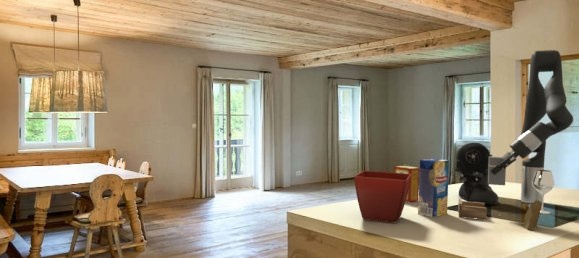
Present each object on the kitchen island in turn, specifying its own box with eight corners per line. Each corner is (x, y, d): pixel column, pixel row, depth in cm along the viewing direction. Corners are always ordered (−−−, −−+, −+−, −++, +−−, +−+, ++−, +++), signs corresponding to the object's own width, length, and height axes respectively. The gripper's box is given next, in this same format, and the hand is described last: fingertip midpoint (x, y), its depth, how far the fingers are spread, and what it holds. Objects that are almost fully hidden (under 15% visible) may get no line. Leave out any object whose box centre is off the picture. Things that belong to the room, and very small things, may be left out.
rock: (541, 226, 154) (555, 219, 160) (525, 204, 158) (539, 198, 164) (517, 238, 162) (531, 231, 168) (503, 217, 166) (516, 211, 171)
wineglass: (556, 215, 186) (558, 172, 185) (534, 213, 187) (536, 171, 187) (548, 211, 194) (550, 169, 193) (528, 209, 195) (530, 169, 195)
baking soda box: (393, 198, 213) (394, 165, 213) (402, 197, 217) (403, 165, 217) (409, 202, 206) (410, 167, 205) (418, 201, 210) (419, 167, 209)
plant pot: (405, 226, 158) (406, 179, 158) (352, 221, 165) (353, 175, 165) (410, 216, 176) (411, 173, 176) (362, 211, 183) (363, 170, 183)
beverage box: (447, 213, 183) (449, 160, 182) (433, 217, 175) (435, 161, 175) (432, 210, 188) (433, 158, 187) (417, 213, 181) (419, 159, 180)
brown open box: (458, 211, 188) (458, 198, 188) (483, 213, 184) (484, 200, 184) (458, 217, 177) (459, 203, 176) (486, 219, 173) (486, 205, 173)
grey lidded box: (487, 182, 185) (488, 156, 185) (503, 183, 183) (504, 157, 183) (488, 184, 181) (489, 157, 180) (505, 185, 179) (506, 158, 178)
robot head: (512, 205, 202) (502, 141, 201) (474, 211, 202) (464, 147, 202) (484, 193, 232) (475, 138, 231) (451, 199, 232) (442, 143, 232)
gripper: (515, 136, 186) (483, 163, 190) (521, 138, 172) (486, 167, 176) (529, 150, 184) (496, 177, 188) (536, 152, 170) (500, 181, 175)
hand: (491, 172), depth 182 cm, fingers closed on grey lidded box, 5 cm apart
